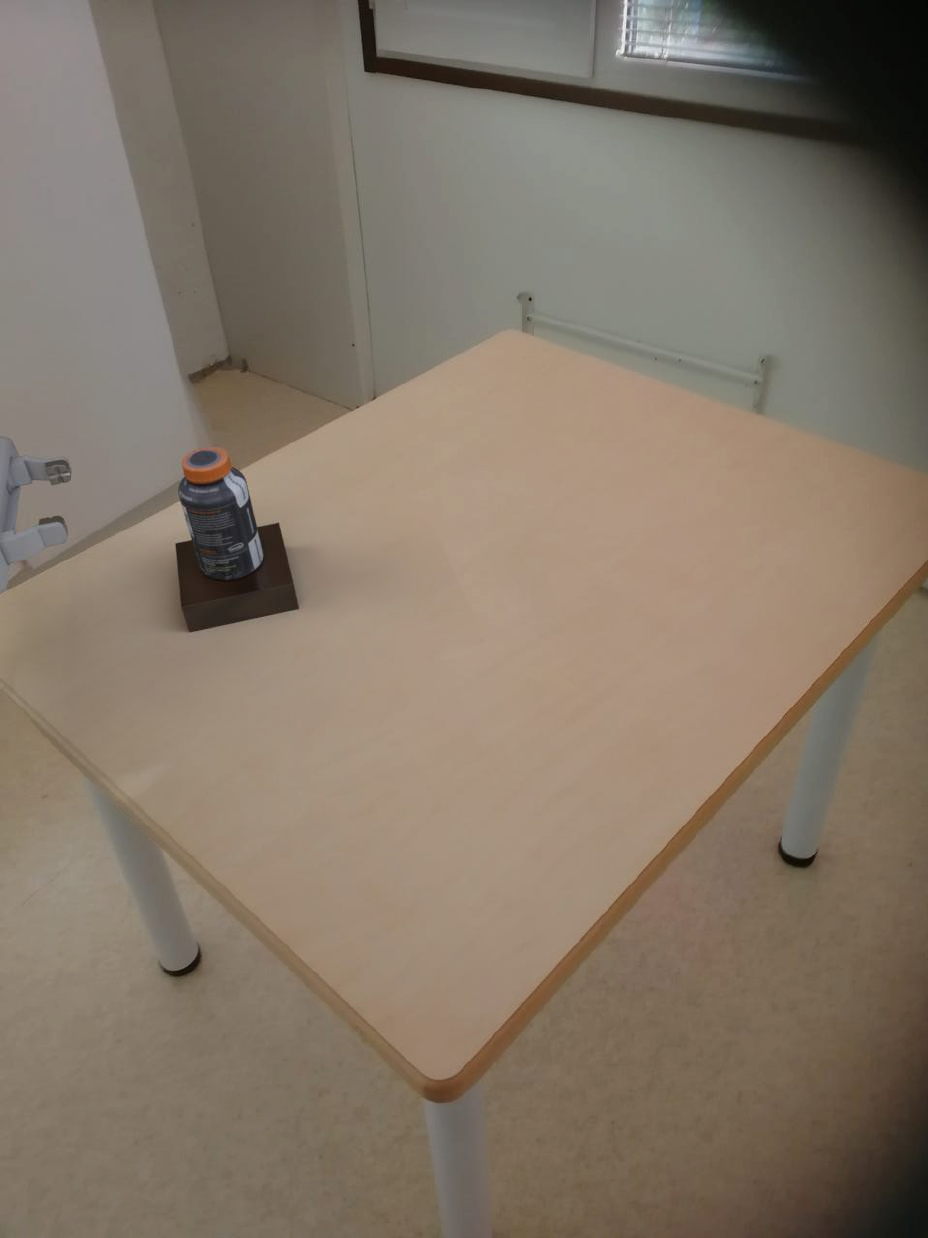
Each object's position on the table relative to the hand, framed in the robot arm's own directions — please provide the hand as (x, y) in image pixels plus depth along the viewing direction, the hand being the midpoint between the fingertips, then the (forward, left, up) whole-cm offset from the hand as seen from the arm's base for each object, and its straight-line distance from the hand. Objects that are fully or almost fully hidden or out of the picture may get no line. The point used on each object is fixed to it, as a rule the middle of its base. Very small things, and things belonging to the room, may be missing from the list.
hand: (67, 497), depth 80 cm
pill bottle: (+12, 0, -10) cm, 16 cm away
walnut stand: (+12, 0, -13) cm, 18 cm away
